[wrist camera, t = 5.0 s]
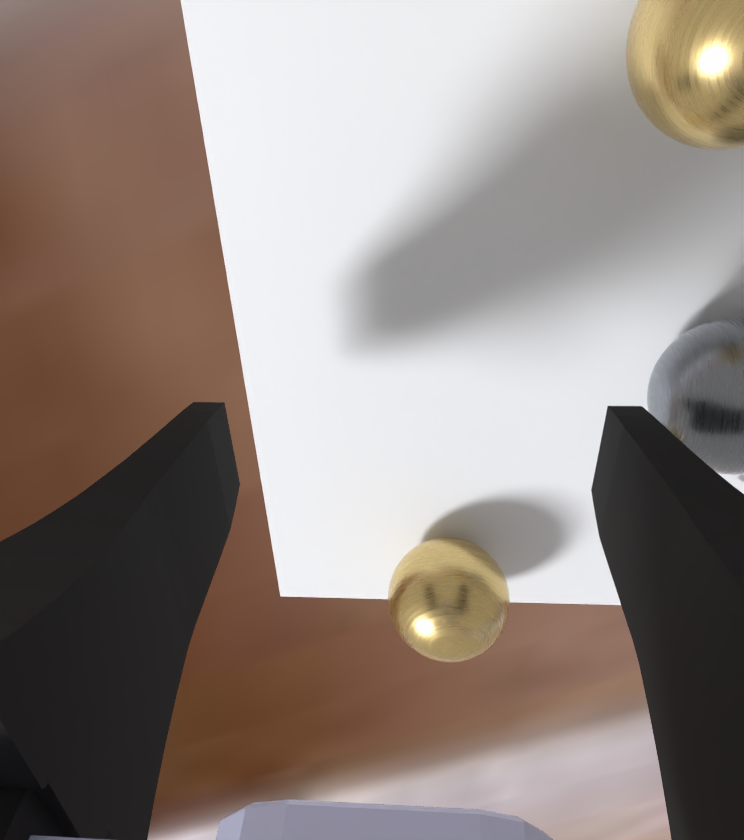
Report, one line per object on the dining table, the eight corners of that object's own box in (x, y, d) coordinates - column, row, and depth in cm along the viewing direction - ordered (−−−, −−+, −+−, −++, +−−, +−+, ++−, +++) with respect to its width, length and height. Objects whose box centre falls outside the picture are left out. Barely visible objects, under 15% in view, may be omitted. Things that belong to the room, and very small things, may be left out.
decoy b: (833, -96, 11) (964, -104, 8) (772, 122, 13) (863, 173, 10) (624, -87, 11) (685, -92, 8) (593, 126, 13) (636, 177, 10)
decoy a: (508, 512, 19) (521, 608, 16) (499, 593, 20) (510, 689, 18) (389, 511, 19) (383, 605, 16) (391, 590, 21) (386, 685, 18)
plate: (1470, -152, 12) (1689, -169, 10) (988, 550, 22) (1047, 615, 20) (204, -94, 13) (164, -98, 11) (293, 537, 23) (280, 596, 21)
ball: (643, 292, 15) (805, 286, 14) (623, 412, 17) (764, 409, 16) (685, 379, 12) (882, 374, 12) (655, 507, 14) (823, 507, 14)
